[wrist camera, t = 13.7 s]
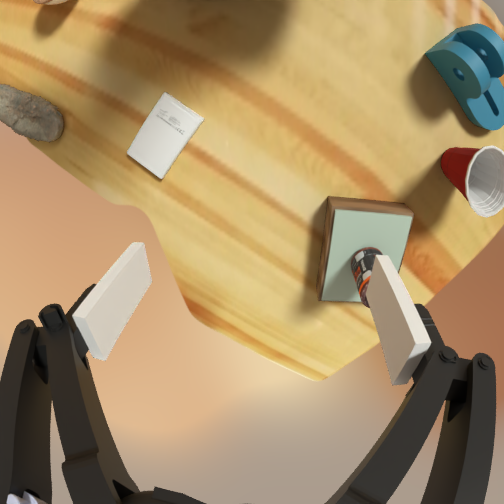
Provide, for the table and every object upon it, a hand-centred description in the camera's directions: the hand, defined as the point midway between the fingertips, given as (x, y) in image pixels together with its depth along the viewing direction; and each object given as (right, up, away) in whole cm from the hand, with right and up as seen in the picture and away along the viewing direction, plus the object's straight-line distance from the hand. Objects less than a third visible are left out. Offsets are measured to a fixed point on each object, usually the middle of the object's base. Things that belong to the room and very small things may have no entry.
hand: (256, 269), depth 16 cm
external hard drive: (-15, +20, +28) cm, 37 cm away
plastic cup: (+35, +17, +23) cm, 45 cm away
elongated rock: (-51, +33, +24) cm, 66 cm away
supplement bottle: (+19, 0, +29) cm, 35 cm away
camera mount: (+37, +30, +15) cm, 51 cm away
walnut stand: (+19, +2, +33) cm, 39 cm away
